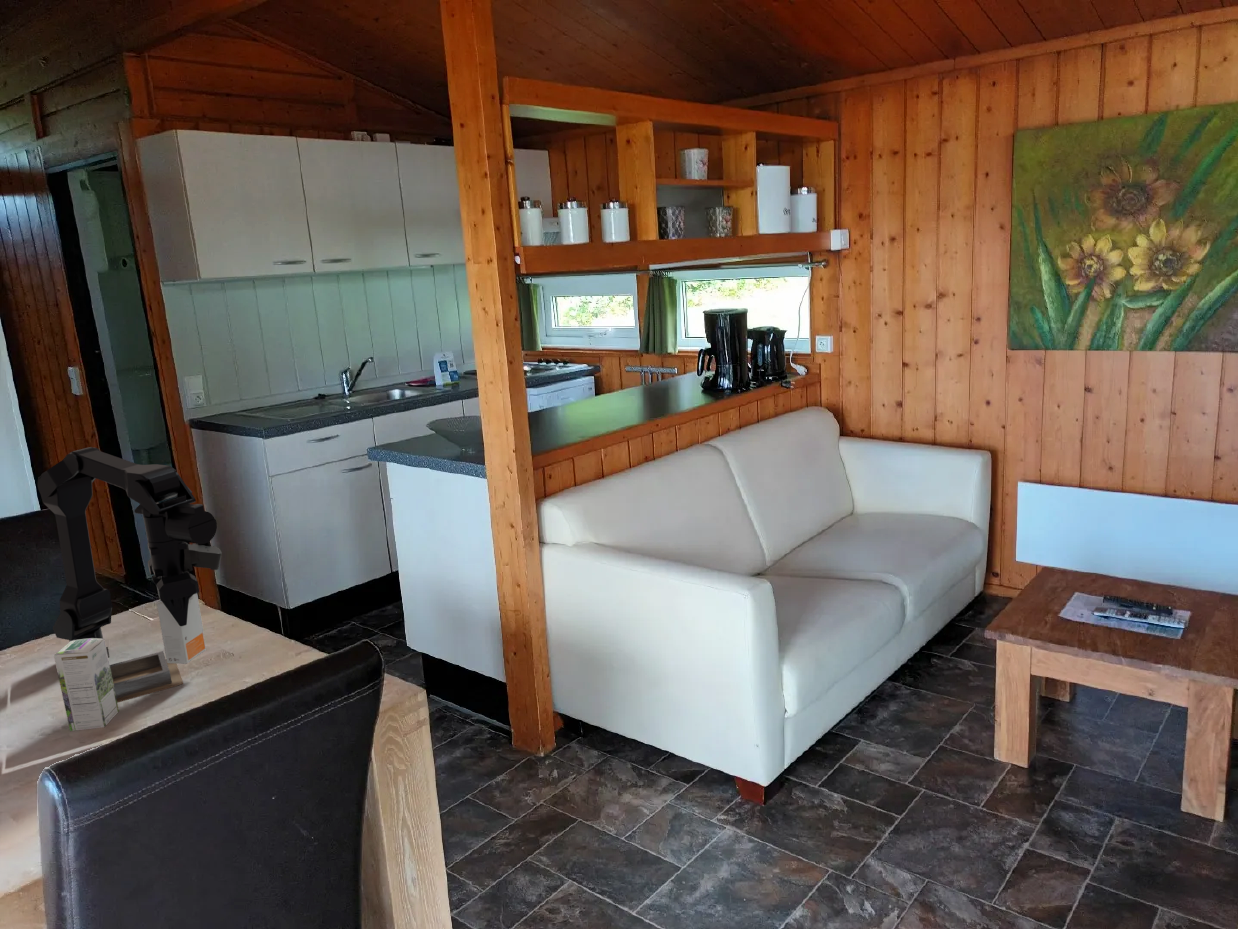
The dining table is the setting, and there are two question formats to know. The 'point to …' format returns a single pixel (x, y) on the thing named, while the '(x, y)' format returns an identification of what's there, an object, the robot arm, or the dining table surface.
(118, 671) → the metal collar
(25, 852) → the dining table surface
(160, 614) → the skincare box
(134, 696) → the walnut stand
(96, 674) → the syrup box
